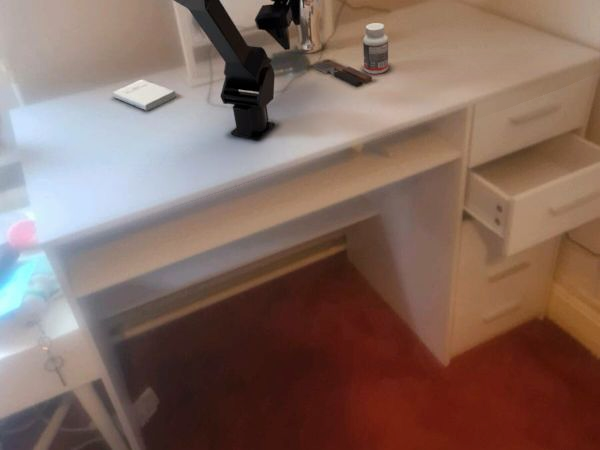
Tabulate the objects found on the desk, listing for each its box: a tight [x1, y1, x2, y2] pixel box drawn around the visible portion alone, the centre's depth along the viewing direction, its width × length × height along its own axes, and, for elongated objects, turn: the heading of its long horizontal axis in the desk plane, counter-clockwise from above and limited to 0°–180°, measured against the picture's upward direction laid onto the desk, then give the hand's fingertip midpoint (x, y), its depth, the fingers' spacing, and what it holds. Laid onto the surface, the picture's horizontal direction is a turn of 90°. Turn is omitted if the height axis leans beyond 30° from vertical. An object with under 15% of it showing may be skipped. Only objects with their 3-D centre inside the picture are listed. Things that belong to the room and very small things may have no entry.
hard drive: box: [112, 79, 177, 112], centre depth 134 cm, size 2×8×12 cm
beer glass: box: [295, 0, 323, 54], centre depth 143 cm, size 7×7×15 cm
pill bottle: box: [362, 22, 389, 75], centre depth 131 cm, size 5×5×10 cm
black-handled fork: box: [311, 61, 363, 88], centre depth 134 cm, size 16×3×1 cm, turn 34°
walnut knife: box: [321, 59, 373, 84], centre depth 135 cm, size 16×2×1 cm, turn 34°
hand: (292, 36), depth 122 cm, fingers open, 9 cm apart
